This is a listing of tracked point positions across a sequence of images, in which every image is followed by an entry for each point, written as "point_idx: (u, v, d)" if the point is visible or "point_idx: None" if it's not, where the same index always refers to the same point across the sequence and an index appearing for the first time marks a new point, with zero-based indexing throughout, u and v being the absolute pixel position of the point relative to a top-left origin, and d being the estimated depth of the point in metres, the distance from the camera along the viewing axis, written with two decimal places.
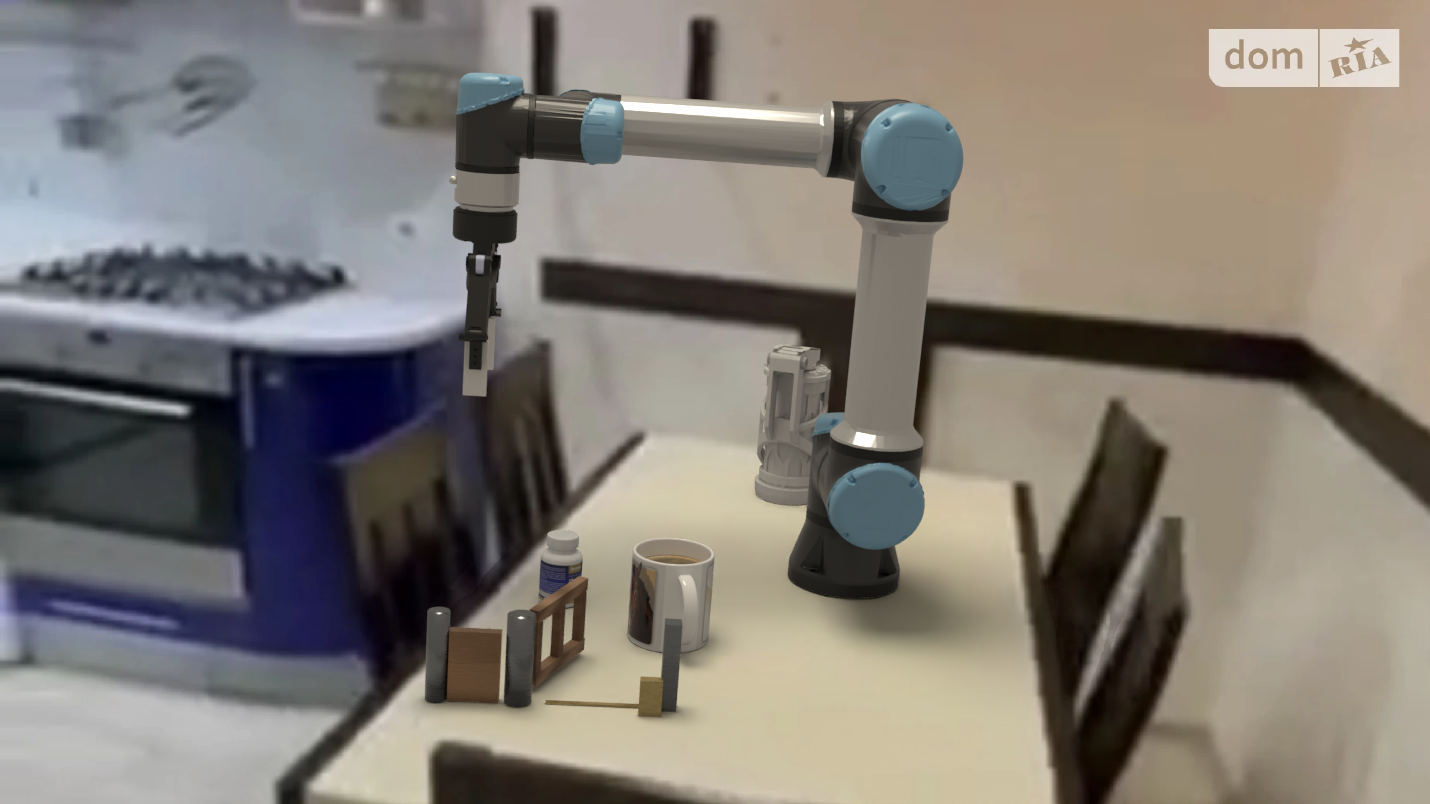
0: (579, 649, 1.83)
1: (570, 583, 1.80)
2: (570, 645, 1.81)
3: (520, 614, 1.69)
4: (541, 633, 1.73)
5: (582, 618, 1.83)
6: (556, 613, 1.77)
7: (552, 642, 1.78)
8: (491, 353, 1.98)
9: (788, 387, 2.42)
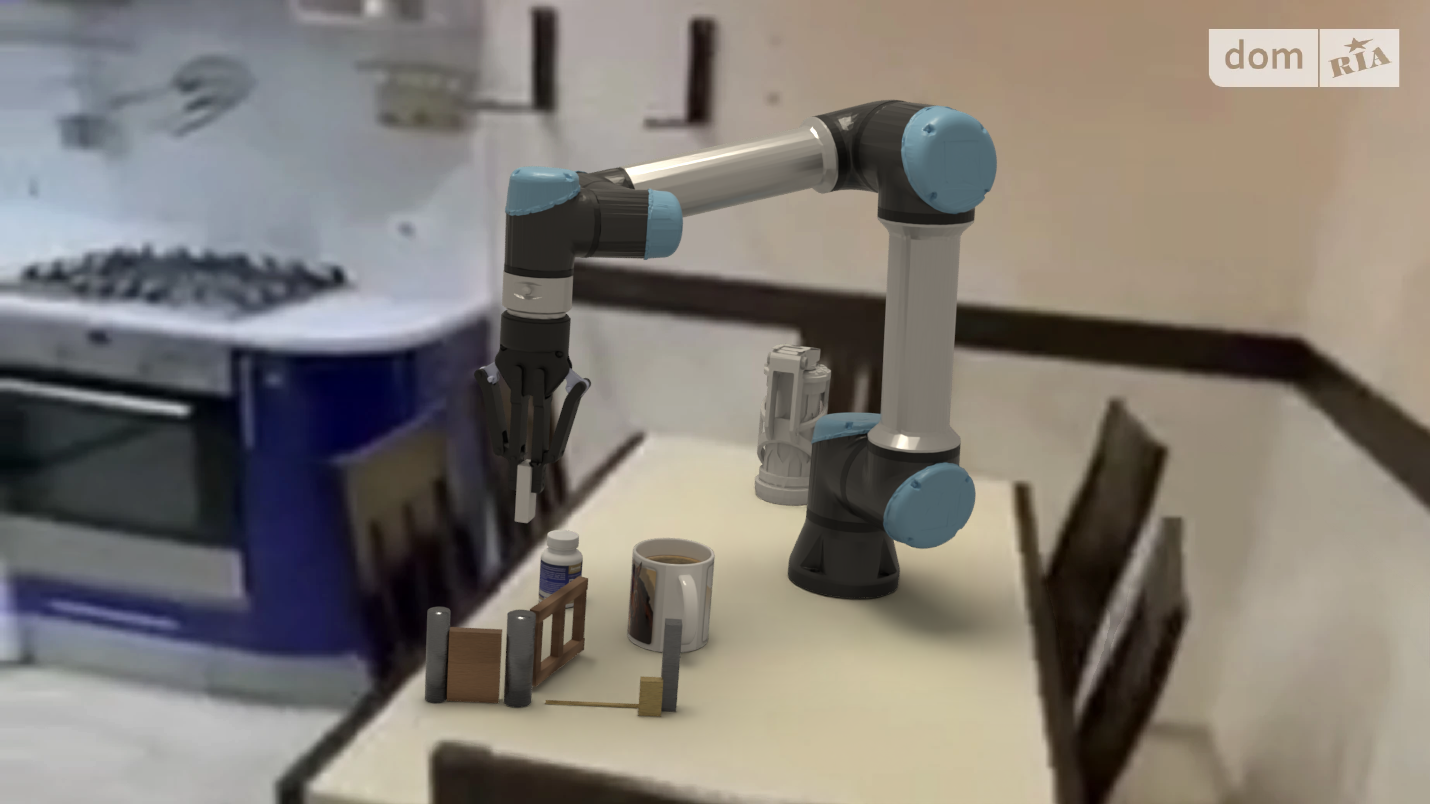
0: (579, 649, 1.83)
1: (570, 583, 1.80)
2: (570, 645, 1.81)
3: (520, 614, 1.69)
4: (541, 633, 1.73)
5: (582, 618, 1.83)
6: (556, 613, 1.77)
7: (552, 642, 1.78)
8: None
9: (788, 387, 2.42)
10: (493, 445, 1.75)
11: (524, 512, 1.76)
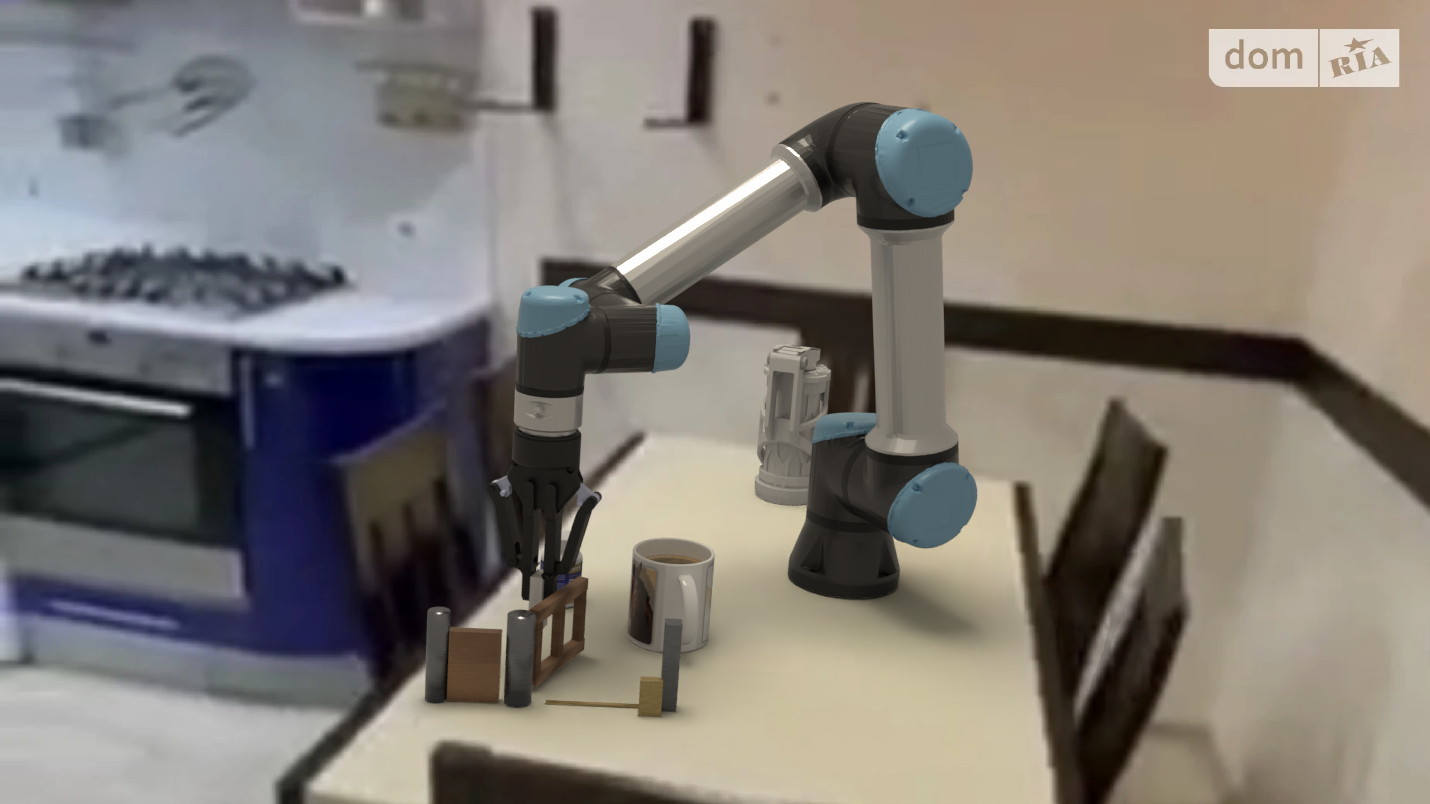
0: (579, 649, 1.83)
1: (570, 583, 1.80)
2: (570, 645, 1.81)
3: (520, 614, 1.69)
4: (541, 633, 1.73)
5: (582, 618, 1.83)
6: (556, 613, 1.77)
7: (552, 642, 1.78)
8: None
9: (788, 387, 2.42)
10: (506, 557, 1.78)
11: None
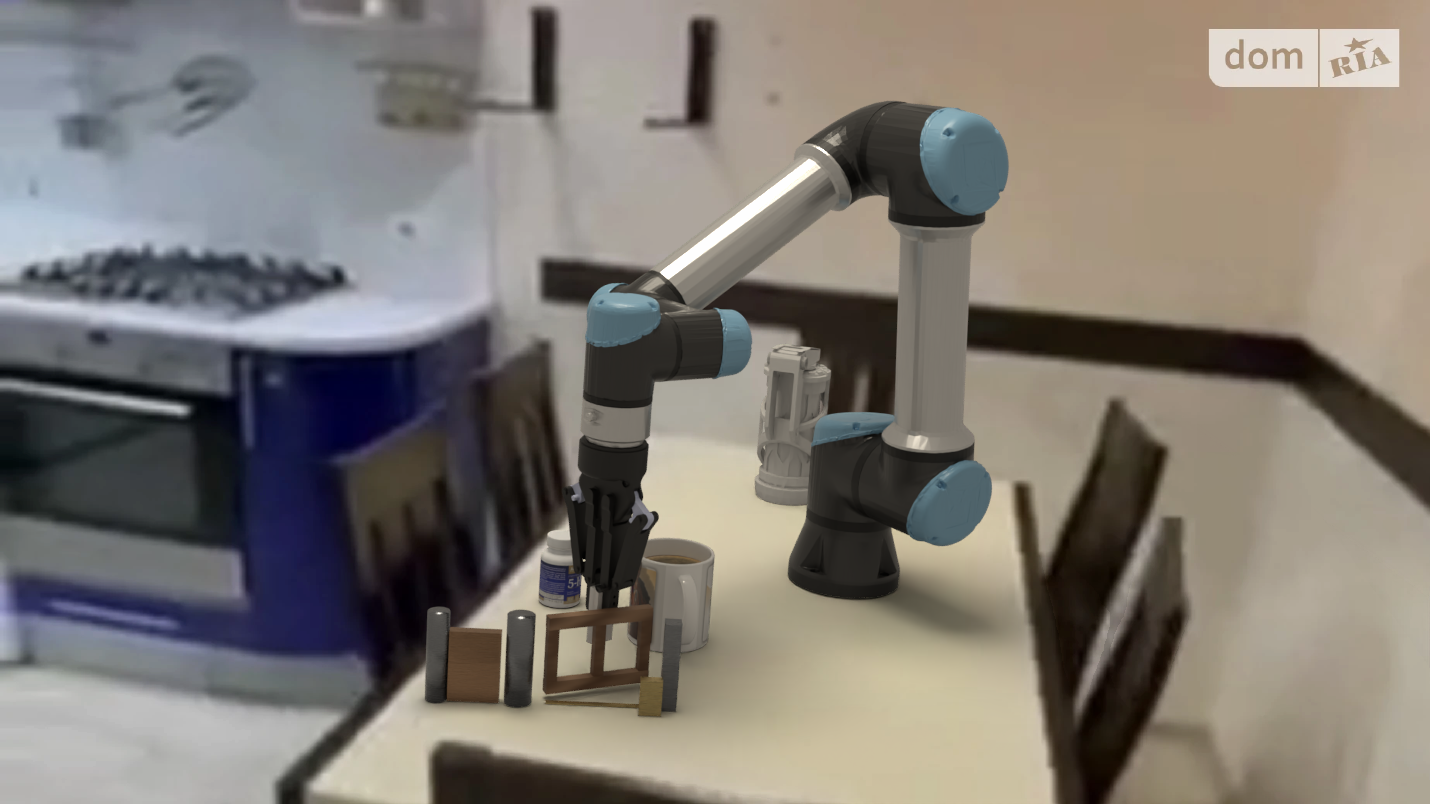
0: (637, 679, 1.76)
1: (627, 607, 1.74)
2: (624, 671, 1.75)
3: (520, 614, 1.69)
4: (556, 642, 1.71)
5: (644, 647, 1.75)
6: (594, 630, 1.73)
7: (591, 659, 1.74)
8: None
9: (788, 387, 2.42)
10: (573, 563, 1.76)
11: None
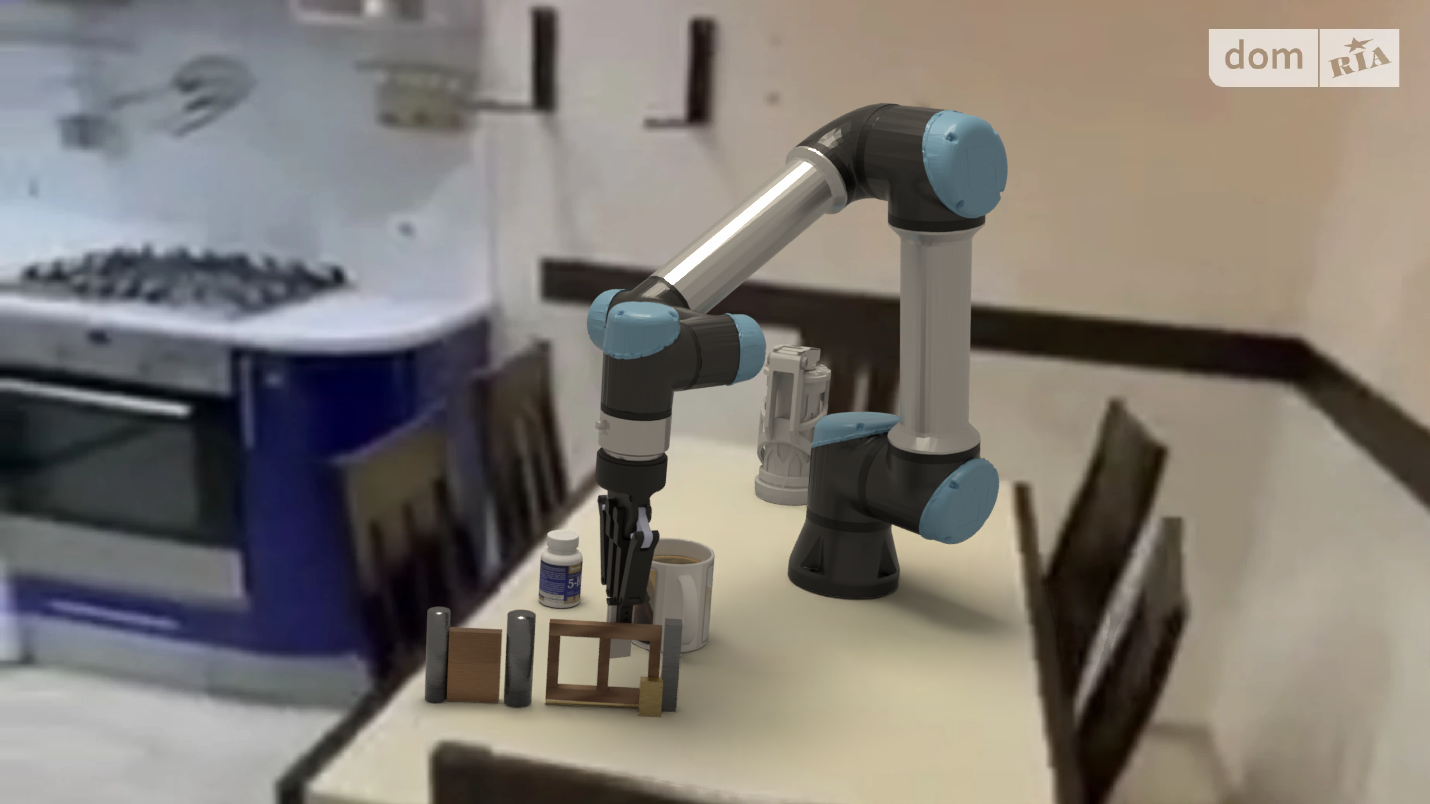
0: None
1: (637, 624, 1.70)
2: (632, 690, 1.71)
3: (520, 614, 1.69)
4: (556, 648, 1.69)
5: (652, 669, 1.70)
6: None
7: None
8: None
9: (788, 387, 2.42)
10: (601, 573, 1.73)
11: None
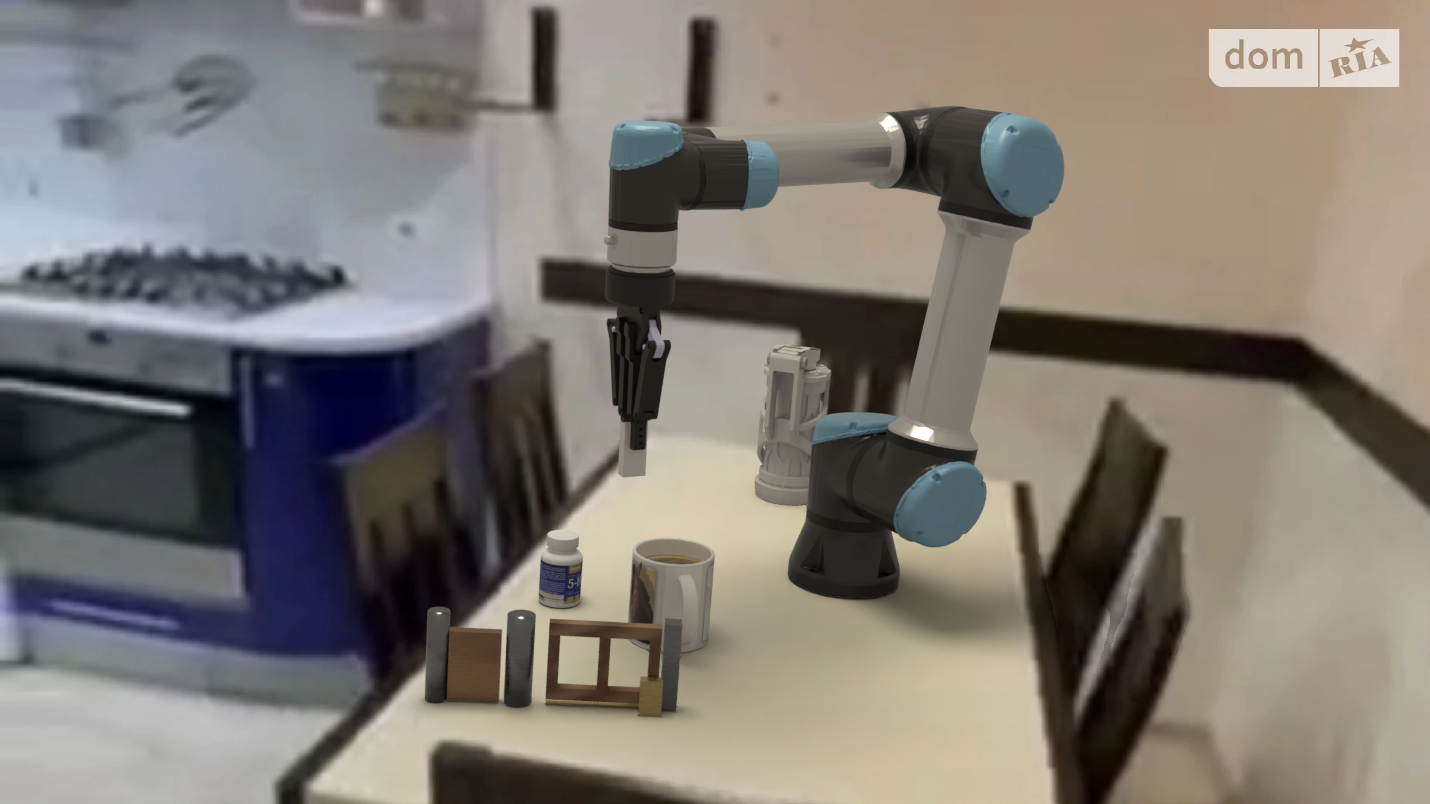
0: None
1: (637, 623, 1.70)
2: (632, 689, 1.71)
3: (520, 614, 1.69)
4: (556, 648, 1.69)
5: (653, 668, 1.70)
6: None
7: None
8: None
9: (788, 387, 2.42)
10: (612, 395, 1.78)
11: (621, 466, 1.76)
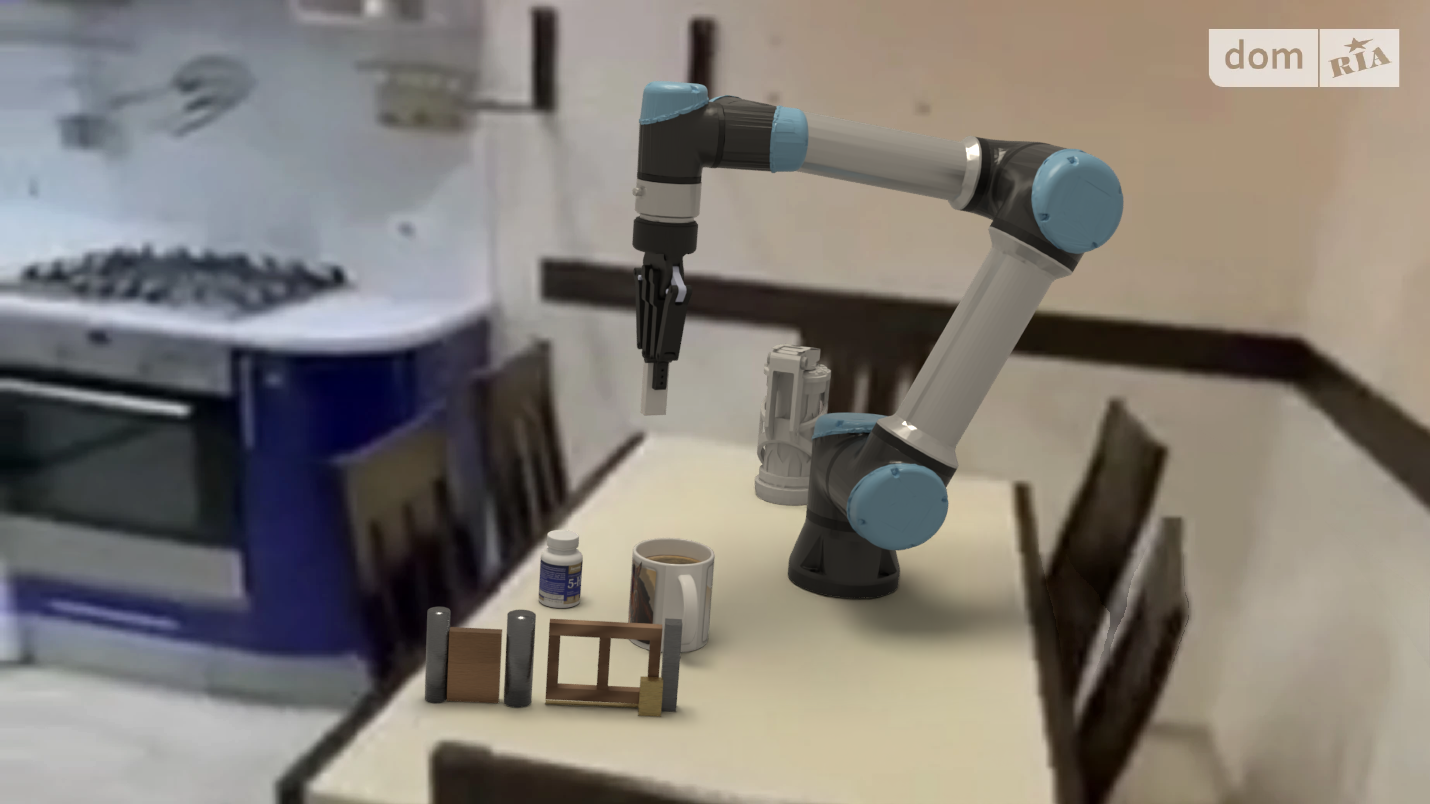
0: None
1: (637, 623, 1.70)
2: (632, 689, 1.71)
3: (520, 614, 1.69)
4: (556, 648, 1.69)
5: (653, 668, 1.70)
6: None
7: None
8: None
9: (788, 387, 2.42)
10: (637, 339, 1.90)
11: (644, 405, 1.89)
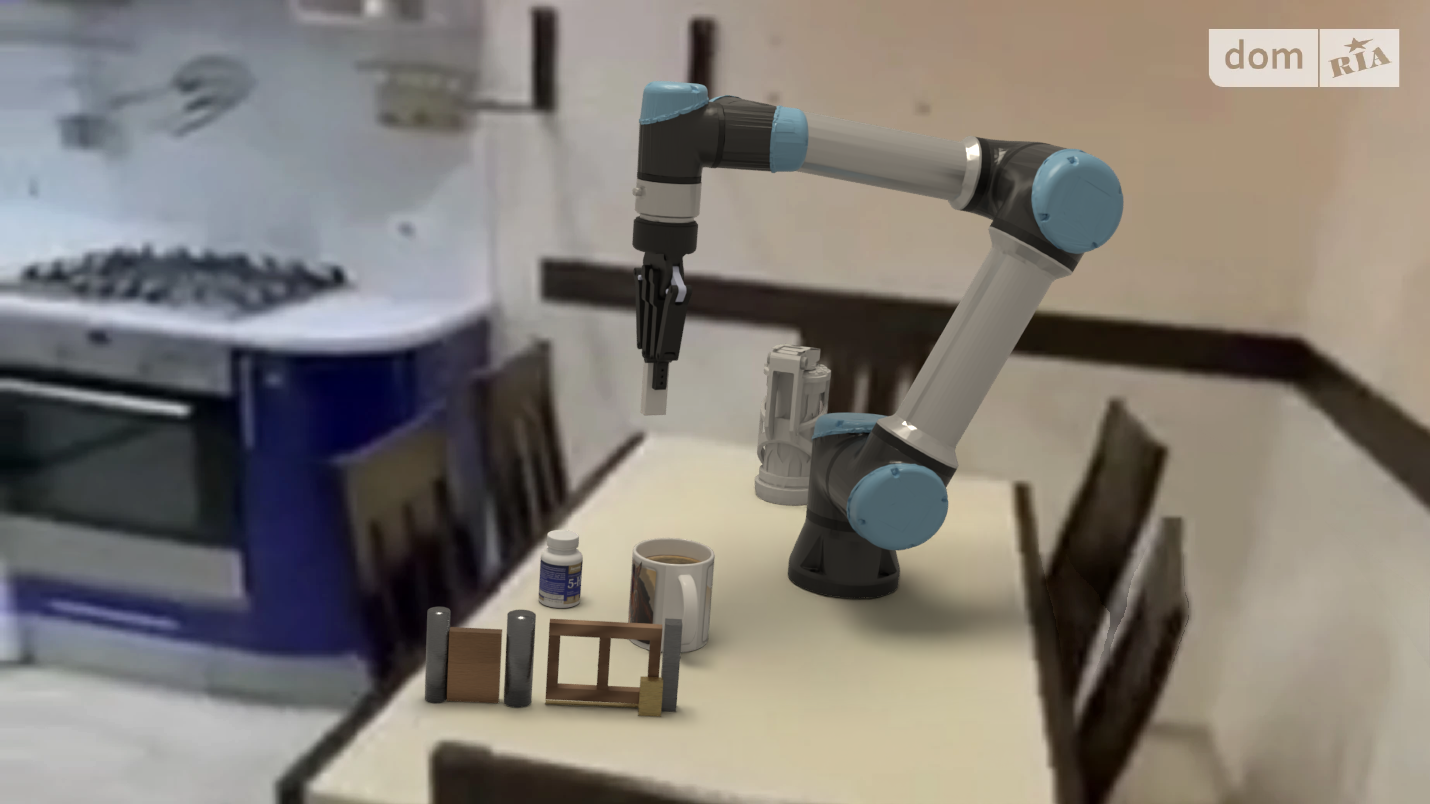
0: None
1: (637, 623, 1.70)
2: (632, 689, 1.71)
3: (520, 614, 1.69)
4: (556, 648, 1.69)
5: (653, 668, 1.70)
6: None
7: None
8: None
9: (788, 387, 2.42)
10: (637, 339, 1.90)
11: (644, 405, 1.89)
